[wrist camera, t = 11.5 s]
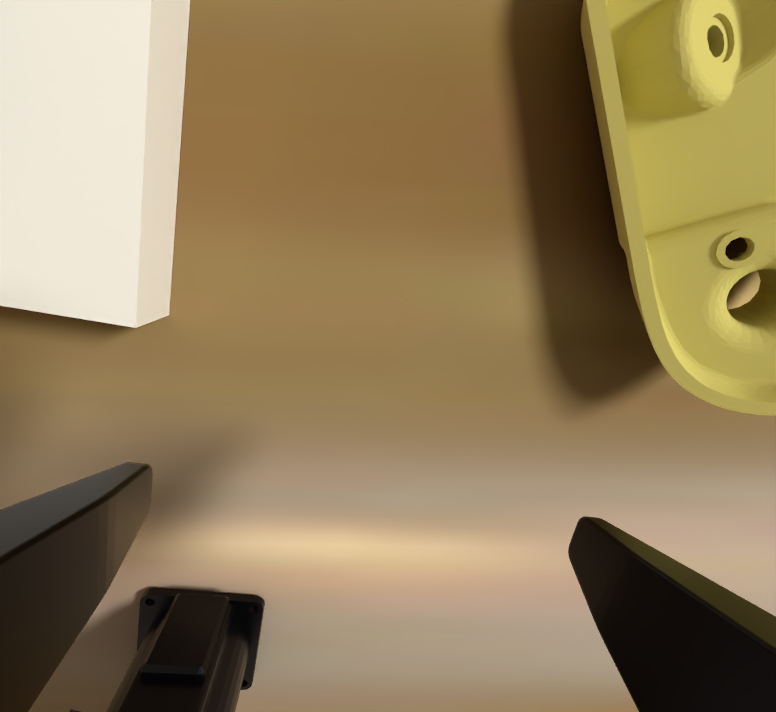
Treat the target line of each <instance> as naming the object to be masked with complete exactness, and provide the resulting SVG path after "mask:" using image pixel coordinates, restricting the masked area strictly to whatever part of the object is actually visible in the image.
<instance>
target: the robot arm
mask: <svg viewBox="0 0 776 712" xmlns="http://www.w3.org/2000/svg"><path fill="white" fill-rule="evenodd" d="M151 488H152V468H151V466H150V465H148V464H141V463H133V462H127V463H124V464H121V465H119V466H116V467H113V468H111V469H108V470H105V471H103V472H100V473H97V474H95V475H92V476H89V477H87V478H84V479H81V480H79V481H76V482H73V483H71V484H68V485H65V486H63V487H60V488H57V489H55V490H52V491H50V492H47V493H44V494H42V495H39V496H36V497H34V498H31V499H28V500H26V501H23V502H20V503H18V504H15V505H12V506H10V507H7V508H4V509H2V510H0V712H28V711H29V709H30V708H31V706H32V705H33V703H34V702H35V700H36V698H37V697H38V695H39V694H40V692H41V691H42V689H43V688H44V686H45V685H46V683H47V682H48V680H49V679H50V677H51V676H52V674H53V673H54V671H55V670H56V668H57V667H58V665H59V664H60V662H61V661H62V659H63V658H64V656H65V655H66V653H67V652H68V650H69V649H70V647H71V646H72V644H73V643H74V641H75V639H76V638H77V636H78V635H79V633H80V632H81V630H82V629H83V627H84V626H85V624H86V623H87V621H88V620H89V618H90V617H91V615H92V614H93V612H94V611H95V609H96V608H97V606H98V605H99V603H100V601H101V600H102V598H103V597H104V595H105V593H106V592H107V590H108V588H109V586H110V584H111V583H112V581H113V579H114V577H115V575H116V573H117V571H118V569H119V567H120V566H121V564H122V562H123V560H124V558H125V556H126V554H127V552H128V550H129V548H130V547H131V545H132V543H133V541H134V539H135V537H136V535H137V533H138V531H139V529H140V527H141V526H142V524H143V522H144V520H145V518H146V516H147V514H148V511H149V508H150V503H151ZM568 553H569V559H570V562H571V564H572V566H573V569H574V571H575V574H576V576H577V579H578V581H579V584H580V586H581V589H582V591H583V594H584V596H585V599H586V601H587V604H588V606H589V609H590V611H591V614H592V616H593V619H594V621H595V623H596V626H597V628H598V630H599V632H600V634H601V637H602V639H603V641H604V643H605V645H606V647H607V649H608V651H609V653H610V655H611V657H612V659H613V661H614V663H615V665H616V667H617V669H618V671H619V673H620V675H621V677H622V679H623V681H624V683H625V685H626V687H627V689H628V691H629V693H630V695H631V697H632V699H633V701H634V703H635V705H636V707H637V709H638V711H639V712H776V617H775V616H773V615H772V614H770V613H768V612H766V611H765V610H763V609H761V608H759V607H757V606H756V605H754V604H752V603H750V602H749V601H747V600H745V599H743V598H742V597H740V596H738V595H736V594H734V593H733V592H731V591H729V590H727V589H726V588H724V587H722V586H720V585H718V584H717V583H715V582H713V581H711V580H710V579H708V578H706V577H704V576H702V575H701V574H699V573H697V572H695V571H694V570H692V569H690V568H688V567H686V566H685V565H683V564H681V563H679V562H678V561H676V560H674V559H672V558H670V557H669V556H667V555H665V554H663V553H662V552H660V551H658V550H656V549H654V548H653V547H651V546H649V545H647V544H646V543H644V542H642V541H640V540H638V539H637V538H635V537H633V536H631V535H630V534H628V533H626V532H624V531H622V530H621V529H619V528H617V527H615V526H614V525H612V524H610V523H608V522H606V521H605V520H603V519H600V518H595V517H582V518H580V519H579V521H578V523H577V526H576V528H575V531H574V534H573V536H572V539H571V542H570V545H569V550H568ZM150 598H152V599H150ZM153 599H154V600H153ZM254 606H257V607H254ZM264 606H265V601H264V600H263V599H262V598H261V597H258V596H247V595H234V594H221V593H208V592H195V591H181V590H168V589H155V588H153V589H148V590H147V591H146V592H145V593H144V594H143V596H142V598H141V600H140V613H139V629H138V646H137V653H136V655H135V657H134V659H133V661H132V663H131V665H130V667H129V669H128V671H127V673H126V675H125V677H124V679H123V681H122V682H121V684H120V686H119V688H118V690H117V692H116V694H115V696H114V698H113V700H112V702H111V704H110V706H109V708H108V710H107V711H106V712H235V710H236V706H237V701H238V697H239V693H240V690H245V689H248V688H250V687H251V685H252V682H253V677H254V671H255V664H256V658H257V651H258V645H259V638H260V632H261V625H262V619H263V612H264ZM70 712H80V711H76V710H72V709H71V710H70Z"/></svg>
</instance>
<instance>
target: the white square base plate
mask: <svg viewBox="0 0 776 712" xmlns="http://www.w3.org/2000/svg"><path fill="white" fill-rule="evenodd" d="M189 11H190V0H0V306H6V307H12V308H18V309H24V310H30V311H36V312H42V313H48V314H54V315H60V316H67V317H73V318H79V319H85V320H91V321H97V322H103V323H109V324H115V325H121V326H127V327H133V328H137V327H140V326H142V325H145V324H147V323H150V322H153V321H155V320H158V319H160V318H163V317H166V316H168V315H169V308H170V293H171V278H172V263H173V249H174V234H175V219H176V204H177V189H178V174H179V159H180V145H181V130H182V115H183V100H184V85H185V70H186V55H187V40H188V26H189Z"/></svg>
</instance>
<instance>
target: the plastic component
mask: <svg viewBox="0 0 776 712" xmlns="http://www.w3.org/2000/svg"><path fill="white" fill-rule="evenodd" d="M581 35H582V40H583V46H584V51H585V57H586V62H587V68H588V73H589V79H590V84H591V90H592V95H593V101H594V106H595V112H596V117H597V123H598V128H599V134H600V140H601V145H602V151H603V156H604V162H605V167H606V173H607V178H608V184H609V189H610V195H611V200H612V206H613V211H614V217H615V222H616V228H617V233H618V239H619V243H620V245H621V247H622V248H623V249H624V252H625V254H626V258H627V264H628V269H629V275H630V280H631V284H632V288H633V292H634V296H635V299H636V302H637V305H638V308H639V310H640V313H641V316H642V319H643V322H644V325H645V328H646V330H647V333H648V336H649V338H650V341H651V343H652V345H653V348H654V350H655V352H656V354H657V356H658V357H659V359H660V361H661V363H662V365H663V366H664V367H665V369H666V370H667V371H668V373H669V374H670V375H671V376H672V378H673V379H674V380H675V381H677V382H678V383H679V384H680V385H681V386H682V387H683V388H684V389H686V390H687V391H689V392H690V393H692V394H693V395H695V396H696V397H698V398H700V399H702V400H704V401H706V402H708V403H711V404H713V405H716V406H719V407H722V408H725V409H728V410H732V411H737V412H741V413H748V414H757V415H776V0H584V1H583V6H582V13H581ZM739 237H741V238H743V239H745V241H746V243H747V248H746V252H739V253H738V255H737V257H735V258H728V257H727V256H726V255H725V251H726V246H727V245H728V244H729V243H730V242H731V241H732V240H734V239H737V238H739ZM756 270H757V271H758V273H759V277H760V280H761V282H760V286H759V291H758V292H757V293H756V295H755V296H754V297H753V298H752V299H751V301H750V302H748V303H746V304H744V305H742V306H741V307H738V308H734V309H729V310H727V304H726V300H727V296H728V293H729V291H730V289H731V288H732V286H733V285H734V284H735V283H736V282H737V281H738V280H739V279H740V278H742V277H743V276H745V275H747V274H748V273H751V272H754V271H756Z"/></svg>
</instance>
